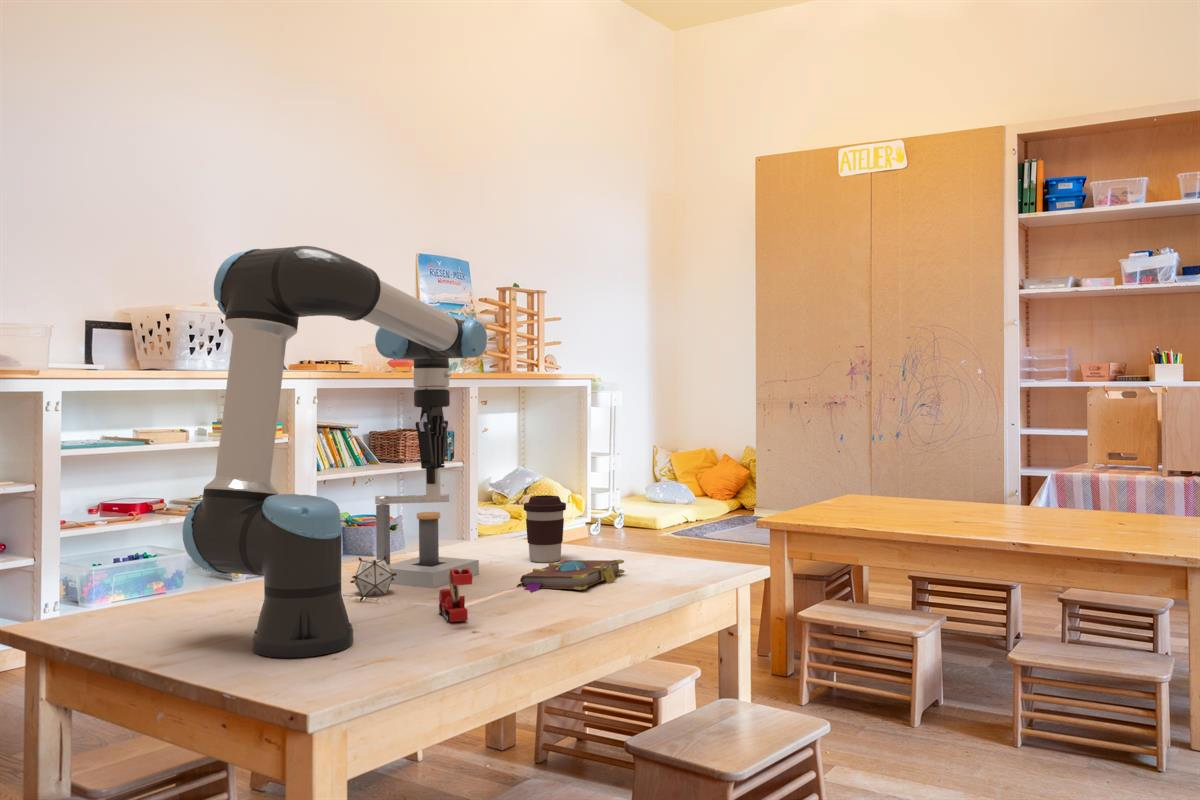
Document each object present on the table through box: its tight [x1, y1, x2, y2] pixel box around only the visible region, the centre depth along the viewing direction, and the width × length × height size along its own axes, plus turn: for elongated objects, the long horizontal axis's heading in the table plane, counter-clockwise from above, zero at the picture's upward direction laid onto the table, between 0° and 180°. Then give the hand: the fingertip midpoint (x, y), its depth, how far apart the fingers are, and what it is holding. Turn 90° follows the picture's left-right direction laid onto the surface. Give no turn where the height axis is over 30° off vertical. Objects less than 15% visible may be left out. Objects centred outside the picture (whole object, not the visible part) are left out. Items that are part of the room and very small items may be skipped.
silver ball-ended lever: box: [374, 493, 450, 505], centre depth 213 cm, size 3×16×2 cm, turn 101°
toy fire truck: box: [438, 568, 473, 623], centre depth 173 cm, size 3×14×10 cm, turn 21°
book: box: [519, 559, 626, 594], centre depth 205 cm, size 16×25×5 cm, turn 155°
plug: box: [416, 511, 441, 567], centre depth 206 cm, size 5×5×14 cm
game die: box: [350, 556, 397, 602], centre depth 191 cm, size 9×8×10 cm
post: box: [375, 504, 391, 565], centre depth 212 cm, size 5×5×16 cm
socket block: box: [388, 556, 480, 589], centre depth 206 cm, size 16×14×4 cm
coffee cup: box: [523, 494, 567, 564], centre depth 233 cm, size 10×10×15 cm
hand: (433, 499), depth 211 cm, fingers closed
